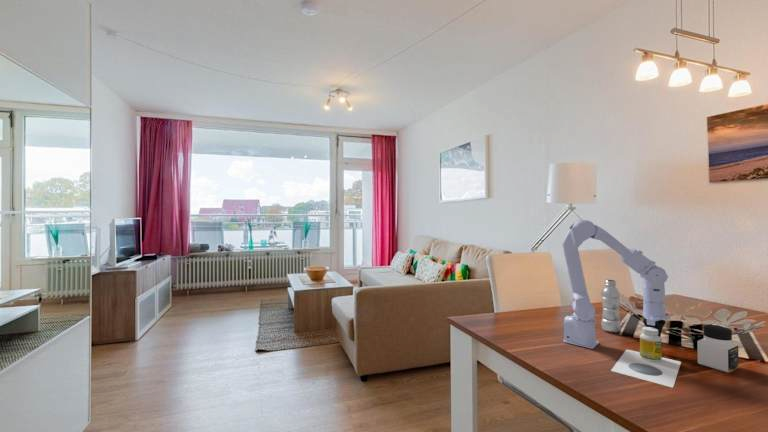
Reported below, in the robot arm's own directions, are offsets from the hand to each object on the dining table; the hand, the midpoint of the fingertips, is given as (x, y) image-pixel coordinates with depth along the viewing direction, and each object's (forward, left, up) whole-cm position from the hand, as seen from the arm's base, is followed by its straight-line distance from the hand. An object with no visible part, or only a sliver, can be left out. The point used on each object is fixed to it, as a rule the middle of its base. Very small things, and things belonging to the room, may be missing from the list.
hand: (654, 341), depth 112 cm
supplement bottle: (0, -8, -4) cm, 9 cm away
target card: (0, -15, -3) cm, 15 cm away
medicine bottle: (+15, 0, -4) cm, 15 cm away
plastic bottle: (-15, +13, -4) cm, 20 cm away
